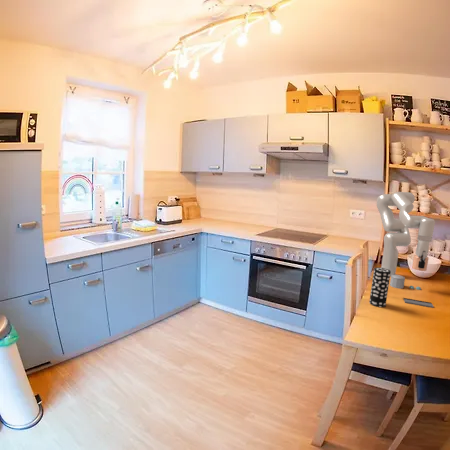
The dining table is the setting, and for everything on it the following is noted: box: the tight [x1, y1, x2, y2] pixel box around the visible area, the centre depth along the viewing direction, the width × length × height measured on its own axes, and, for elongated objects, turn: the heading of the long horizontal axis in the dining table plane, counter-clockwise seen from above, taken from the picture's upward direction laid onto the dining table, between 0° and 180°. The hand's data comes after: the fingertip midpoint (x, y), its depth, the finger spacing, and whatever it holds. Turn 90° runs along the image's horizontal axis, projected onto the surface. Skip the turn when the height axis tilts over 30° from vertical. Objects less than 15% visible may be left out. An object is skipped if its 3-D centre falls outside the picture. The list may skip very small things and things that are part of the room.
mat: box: [402, 297, 434, 309], centre depth 189 cm, size 14×16×1 cm
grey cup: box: [389, 274, 406, 289], centre depth 207 cm, size 8×8×8 cm
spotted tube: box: [368, 267, 391, 308], centre depth 179 cm, size 8×8×20 cm
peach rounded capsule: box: [411, 254, 429, 272], centre depth 200 cm, size 8×8×8 cm
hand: (419, 265), depth 201 cm, fingers closed on peach rounded capsule, 7 cm apart
